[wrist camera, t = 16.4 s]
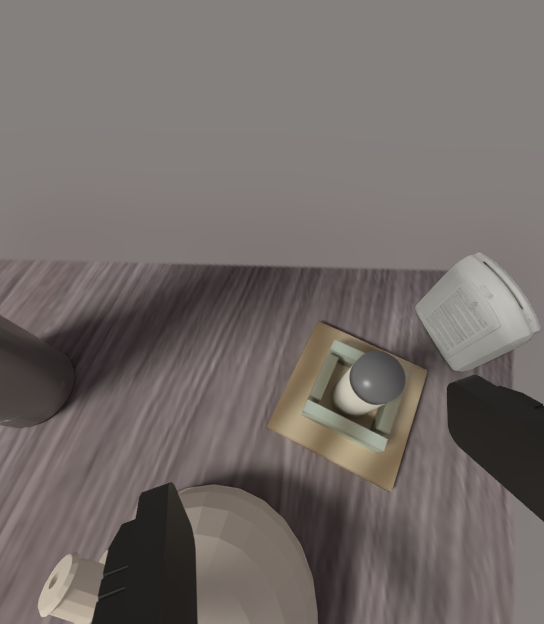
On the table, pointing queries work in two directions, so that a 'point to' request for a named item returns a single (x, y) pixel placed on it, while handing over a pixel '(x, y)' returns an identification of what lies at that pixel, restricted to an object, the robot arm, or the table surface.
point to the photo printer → (477, 313)
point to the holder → (336, 428)
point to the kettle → (213, 566)
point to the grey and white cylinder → (368, 384)
